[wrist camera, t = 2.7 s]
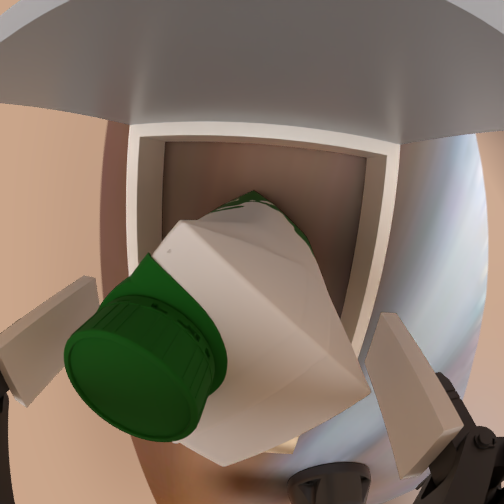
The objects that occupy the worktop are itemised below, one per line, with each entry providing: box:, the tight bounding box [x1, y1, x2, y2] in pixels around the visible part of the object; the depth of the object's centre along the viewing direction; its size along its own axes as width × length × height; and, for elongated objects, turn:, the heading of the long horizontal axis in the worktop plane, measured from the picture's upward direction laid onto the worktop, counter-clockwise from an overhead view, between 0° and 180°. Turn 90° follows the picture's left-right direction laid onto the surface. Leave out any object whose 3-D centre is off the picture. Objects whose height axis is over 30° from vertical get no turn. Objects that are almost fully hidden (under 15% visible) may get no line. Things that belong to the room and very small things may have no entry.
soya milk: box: [64, 190, 371, 467], centre depth 16 cm, size 9×9×20 cm
